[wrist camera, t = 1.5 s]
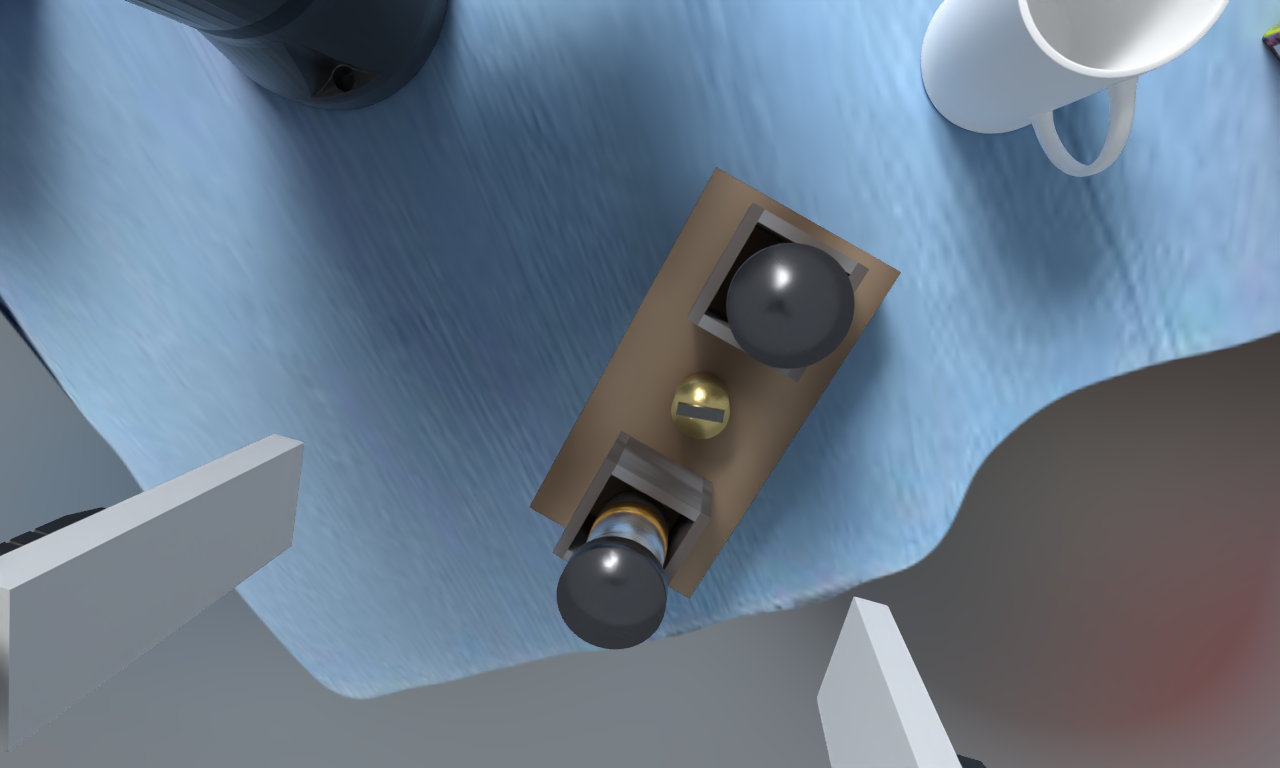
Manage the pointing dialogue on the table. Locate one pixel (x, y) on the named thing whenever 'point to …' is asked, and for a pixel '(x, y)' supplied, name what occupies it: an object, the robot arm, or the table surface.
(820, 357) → the knob near
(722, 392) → the screw
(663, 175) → the table surface
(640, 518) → the knob far
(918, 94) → the table surface
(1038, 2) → the mug
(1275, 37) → the snack box
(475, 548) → the table surface
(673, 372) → the mount
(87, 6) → the table surface
